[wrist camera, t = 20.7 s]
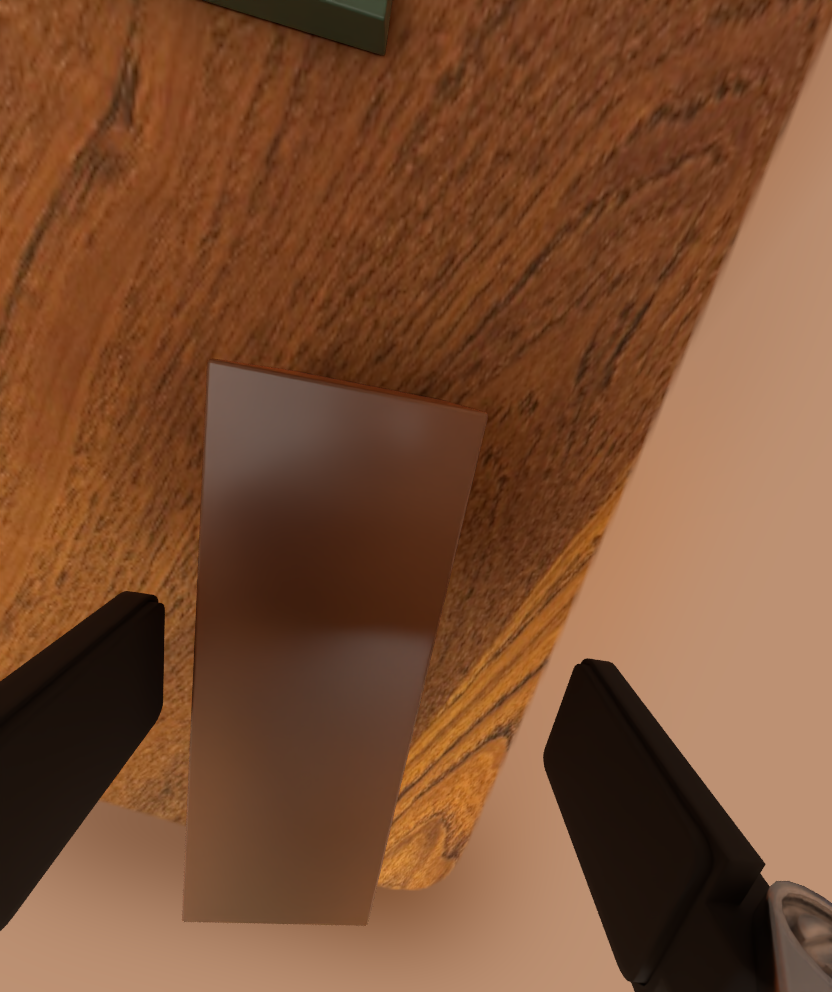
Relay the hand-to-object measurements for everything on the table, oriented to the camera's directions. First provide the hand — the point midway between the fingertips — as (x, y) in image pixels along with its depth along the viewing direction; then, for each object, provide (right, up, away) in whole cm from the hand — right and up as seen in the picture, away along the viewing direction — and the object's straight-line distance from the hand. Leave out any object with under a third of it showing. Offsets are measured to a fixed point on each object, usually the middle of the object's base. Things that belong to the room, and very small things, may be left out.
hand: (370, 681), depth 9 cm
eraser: (-2, +1, +4) cm, 5 cm away
